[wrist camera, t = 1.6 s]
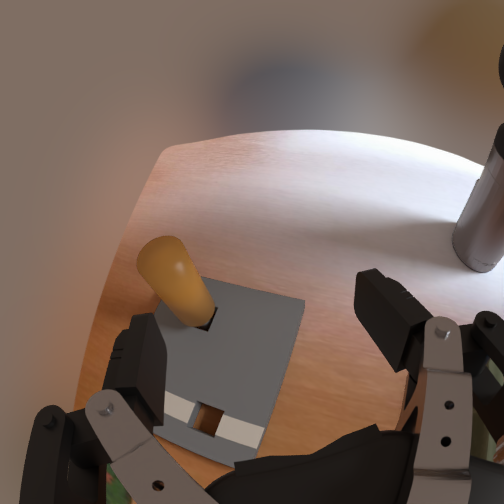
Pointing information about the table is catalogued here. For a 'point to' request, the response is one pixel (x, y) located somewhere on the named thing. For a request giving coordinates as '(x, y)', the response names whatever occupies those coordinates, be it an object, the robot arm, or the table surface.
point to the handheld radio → (481, 437)
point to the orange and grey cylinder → (176, 281)
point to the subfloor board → (227, 369)
